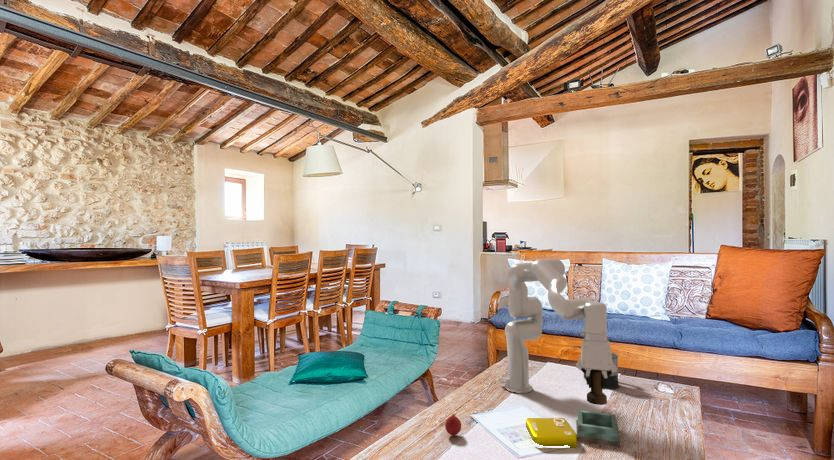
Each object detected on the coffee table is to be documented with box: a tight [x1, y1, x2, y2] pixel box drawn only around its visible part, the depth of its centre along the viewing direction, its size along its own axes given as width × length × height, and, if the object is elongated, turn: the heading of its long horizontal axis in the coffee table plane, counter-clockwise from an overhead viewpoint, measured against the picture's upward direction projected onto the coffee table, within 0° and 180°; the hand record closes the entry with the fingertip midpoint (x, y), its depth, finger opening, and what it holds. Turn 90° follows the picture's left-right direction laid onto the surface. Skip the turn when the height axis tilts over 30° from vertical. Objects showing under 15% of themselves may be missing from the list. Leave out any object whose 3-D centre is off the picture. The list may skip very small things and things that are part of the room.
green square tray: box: [575, 409, 622, 449], centre depth 151 cm, size 14×14×6 cm
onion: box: [444, 413, 462, 437], centre depth 152 cm, size 6×6×8 cm
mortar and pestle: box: [586, 369, 608, 406], centre depth 151 cm, size 7×6×18 cm
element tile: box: [525, 417, 578, 449], centre depth 150 cm, size 15×15×5 cm
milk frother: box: [583, 352, 620, 390], centre depth 201 cm, size 14×16×15 cm
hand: (596, 386), depth 151 cm, fingers closed on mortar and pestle, 3 cm apart
